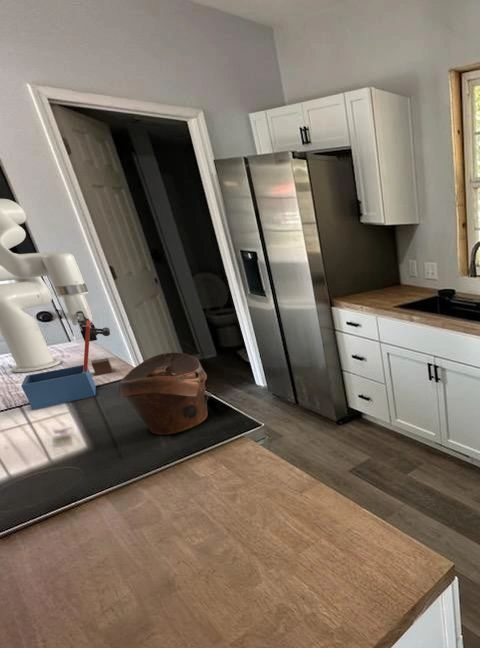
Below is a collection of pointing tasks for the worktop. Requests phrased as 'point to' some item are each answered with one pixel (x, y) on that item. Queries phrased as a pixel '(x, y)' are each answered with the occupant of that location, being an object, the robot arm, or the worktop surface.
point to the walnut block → (102, 366)
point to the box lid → (95, 331)
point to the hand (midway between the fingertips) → (91, 338)
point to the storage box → (58, 386)
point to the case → (167, 392)
